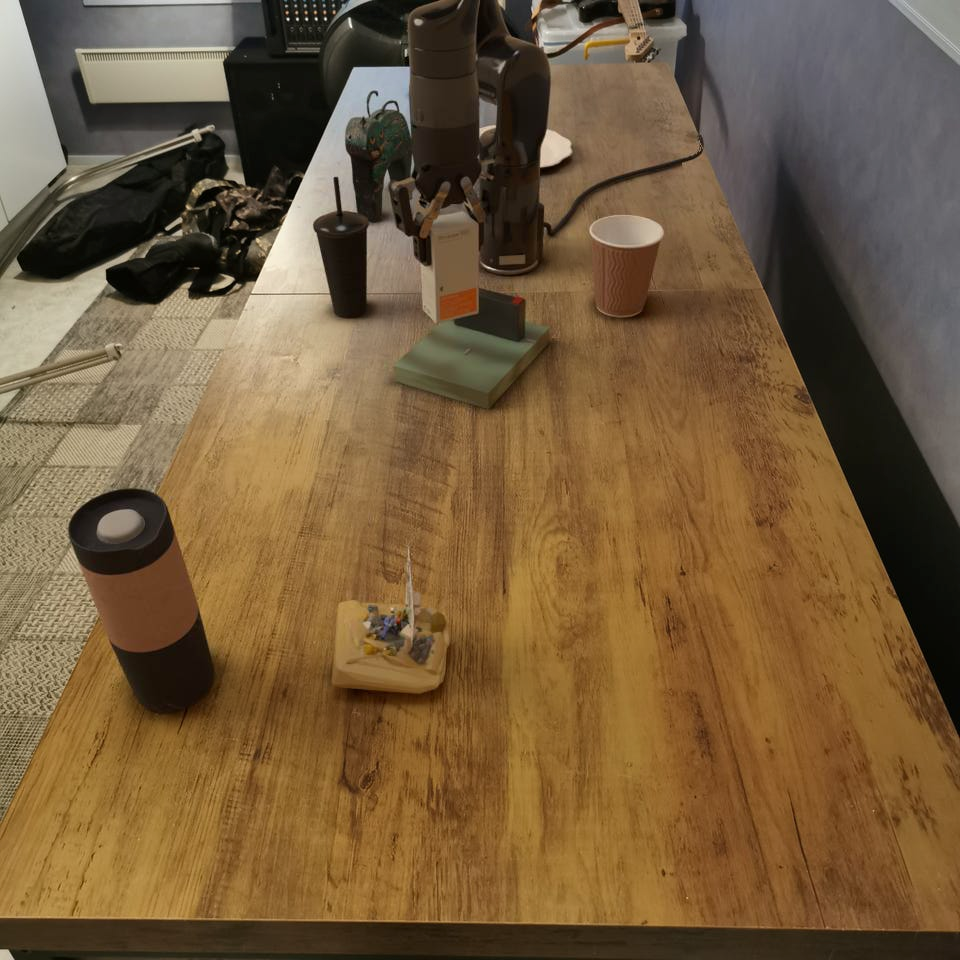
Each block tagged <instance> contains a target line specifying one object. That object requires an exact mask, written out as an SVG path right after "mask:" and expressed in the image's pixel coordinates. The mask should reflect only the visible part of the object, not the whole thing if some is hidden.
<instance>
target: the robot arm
mask: <svg viewBox="0 0 960 960" xmlns="http://www.w3.org/2000/svg"><path fill="white" fill-rule="evenodd" d="M407 41H408V60H409V61H408V62H409V63H408V64H409V85H408V103H409V104H408V105H409V121H410V122H409V123H410V136H411V142H412V162H413V169H412V171H411V177H410V178H408V179H405V180H402V181H400V182H398V181H396V180H391V181H390V180H389V182H388V185H387V188H388V192H389V198H390V202H391V203H390V204H391V209H392V213H393V218H394V219H393V220H394V223H395V224H394V225H395V227H396V229H398V231H400V232H401V233H403V234H404V235H405V236H407V237H408V238H411V237H412V247H413V248H412V249H413V256H414V258H415V260H417V261H418V262H419V263H420V265H421V264H423V265H424V266H425V267H426V266H430V265H431V264H432V258H431V237H430V236H429V232H430V229H431V227H432V224H433V221H434V220H436V219H437V218H438V216H440V212H441V210H443V209H446V208H448V207H450V206H451V205H462V206H463V208H464V210H465V213H466V214H467V215H468V216H470V217H471V218H472V219H473V220H474V221H476V222H477V223H478V225H479V266H480V267H481V268H482V269H483V270H484V271H486V272H489V273H492V274H496V275H501V276H515V275H516V276H517V275H522V274H525V273H529V272H531V271H532V270H534V269H535V268H536V267H537V266H538V264H540V263H543V261H544V259H543V258H544V237H545V229H546V234H547V235H548V236H553V235H555V234H556V233H557V232H558V231H560V230H561V229H562V228H563V227H564V225H565V224H566V223H567V222H568V220H569V219H570V218H571V217H572V215H573V214H574V213H575V211H576V210H577V207H578V206H579V204H580V203H581V202H582V200H584V199H585V197H587V196H588V195H589V194H591V193H592V192H594V191H596V190H598V189H601V188H602V187H605V186H607V185H610V184H613V183H615V182H617V181H618V182H619V181H622V180H624V179H627V178H631V177H636V176H638V175H642V174H645V173H650V172H654V171H658V170H662V169H667V168H669V167H673V166H675V165H679V164H683V163H687V162H690V161H693V160H695V159H696V158H698V157H700V156H701V155H702V154H703V151H704V148H705V143H704V142H705V141H704V138H703V136H702V134H698V135H697V137H696V139H697V141H698V143H699V140H700V143H701V145H702V147H703V149H702V147H701V145H700V143H699V148H698V150H697V152H695V153H693V154H691V155H689V156H685V157H682V158H678V159H675V160H671V161H668V162H664V163H661V164H656V165H653V166H648V167H644V168H641V169H636V170H633V171H630V172H626V173H622V174H619V175H616V176H612V177H610V178H607V179H605V180H602V181H600V182H598V183H595V184H594V185H593V186H591V187H589V188H588V189H586V190H585V191H584V192H582V193H581V194H580V195H579V196H578V197H577V198H576V199H575V200H574V201H573V203H572V204H571V207H570V209H569V210H568V211H567V213H566V214H565V215H564V216H563V218H562V219H560V221H559V222H558V224H557V225H555V227H553V228H552V225H551V223H549V222H547V221H545V205H544V203H542V202H540V187H541V183H540V182H541V169H540V156H541V146H542V143H543V141H544V138H545V135H546V131H547V130H548V122H549V111H550V98H551V84H552V72H551V65H550V61H549V58H548V56H547V54H546V52H545V51H544V49H542V48H541V47H540V46H539V45H536V44H534V43H532V42H529V41H526V40H523V39H520V38H517V37H514V36H512V35H511V34H510V32H509V30H508V28H507V25H506V23H505V20H504V17H503V13H502V10H501V6H500V2H499V0H438V1H433V2H431V3H430V2H429V3H427V4H423V5H420V6H418V7H416V8H414V9H413V10H412V11H411V12H410V13H409V15H408V18H407ZM480 101H483V102H485V103H487V104H489V105H491V106H494V107H495V108H496V119H495V120H496V121H495V125H496V128H493V129H490V130H487V131H485V132H484V133H483V134H482V135H481V136H480V128H481V127H480V108H481V107H480V106H481V104H480ZM698 137H699V139H698ZM700 147H701V151H700V152H699V150H700ZM696 153H697V154H696ZM692 155H693V156H692ZM686 157H687V158H686ZM477 181H478V194H477V192H476V190H475V188H474V186H475V185H476V183H477ZM415 189H416V191H418V195H417V198H416V200H415V203H414V207H413V208H414V213H413V211H412V205H411V201H412V200H413V199H414V197H413V193H414V190H415ZM428 204H429V206H428Z"/></svg>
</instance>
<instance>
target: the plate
mask: <svg viewBox="0 0 960 960" xmlns="http://www.w3.org/2000/svg"><path fill="white" fill-rule="evenodd" d="M493 128H496V124H495V125H494V124H493V125H487V126H483V127H480V136H481V135H482V134H483V133H484V132H485V131H487V130H490V129H493ZM572 145H573V144H572V141H571V140H570V139H568V138H567V137H564V136H562V135H560V134H559V133H558V132H557V131H554V130H551V129H547V131H546V135H545V138H544V141H543V143H542V146H541V156H540V170H542V169H547V168H552V167H555V166H558V165H559V164H561V162H562V161H564V160H566V159H568V158H570V157H571V156H572V154H573V152H574V151H573V149H572Z"/></svg>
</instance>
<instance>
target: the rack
mask: <svg viewBox="0 0 960 960" xmlns="http://www.w3.org/2000/svg"><path fill="white" fill-rule="evenodd" d="M549 344H550V327H549V326H545V325H542V324H537V323H533V322H529V321H526V320H525V336H524V337H523V338H522V339H521V340H520V341H519V342H516V341H512V340H509V339H505V338H501V337H498V336H494V335H491V334H487V333H483V332H480V331H476V330H472V329H469V328H465V327H461V326H458V325H455V324H454V320H450V321H446V322H442V323H439V324H437V325H436V326H435V328H433V329H432V330H431V331H430V332H429V333H427V334H426V335H425V336H424V337H423V338H422V339H421V340H420V341H419V342H417V343H416V345H414V346H413V347H411V349H410V350H409V351H407V353H405V354H404V355H403V356H402V357H401V358H400V359H398V361H396V362H395V363H394V364H393V376H394V382H396V383H399V384H402V385H405V386H409V387H412V388H415V389H419V390H422V391H425V392H429V393H433V394H436V395H439V396H442V397H446V398H449V399H452V400H455V401H459V402H463V403H465V404H469V405H473V406H475V407H479V408H482V409H486V410H490V409H491V408H492V407H493V406H494V404H495V403H496V402H497V401H498V400H499V399H500V398H501V396H502V395H503V394H504V393H505V392H506V391H507V390H508V389H509V388H510V387H511V385H512V384H514V382H515V381H516V380H517V379H518V378H519V377H520V376H521V375H522V373H524V371H525V370H527V368H528V367H529V365H530V364H531V363H532V362H533V361H534V360H535V359H536V358H537V357H538V355H539V354H541V352H542V351H543V350H544V349H545V348H546V347H547V346H548V345H549Z"/></svg>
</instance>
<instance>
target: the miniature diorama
mask: <svg viewBox="0 0 960 960" xmlns="http://www.w3.org/2000/svg"><path fill="white" fill-rule="evenodd" d="M367 525H368V527H371V524H370V522H368V524H367ZM406 559H407V560H406V561H407V562H406V585H405V600H404V601H405V602H404V603H378V602H377V603H376V602H362V601H359V600H355V599H350V600H345V601H340V602H339V603H338V605H337V610H336V623H335V633H334V645H333V646H334V647H333V659H332V671H331V685H332V686H333V688H343V689H355V690H368V691H379V692H391V693H402V694H417V695H421V694H423V693H427V692H430V691H433V690H436V689H438V688H439V686H440V684H442V683H443V682H444V678H445V675H446V668H447V654H448V653H447V651H448V650H447V649H448V648H449V647H450V645H451V643H452V632H451V626H450V623H449V622H448V620H447V618H446V616H445V614H443V612H440V611H439V610H438V609H437V608H435V607H433V606H423V605H421V595H422V593H421V592H420V591H413V585H412V584H413V583H412V570H411V569H412V568H411V558H410V544H408V545H407V558H406Z"/></svg>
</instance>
